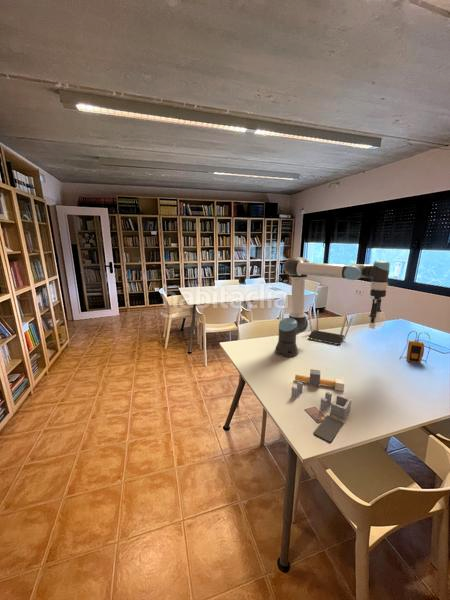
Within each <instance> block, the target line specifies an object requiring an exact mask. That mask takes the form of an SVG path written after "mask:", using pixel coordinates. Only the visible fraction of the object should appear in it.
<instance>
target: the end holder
mask: <svg viewBox="0 0 450 600" xmlns="http://www.w3.org/2000/svg"><path fill="white" fill-rule="evenodd" d="M351 404H352V399H351V398H349V397H345V396H343V395H340V394H337V395H336V401H335V403H334V402H331V404H330V413H329V414H330V415H332V416H335V417H337V418H339V419H341V420H345V419H346V417H347V416H348V414H349V412H350V410H351Z"/></svg>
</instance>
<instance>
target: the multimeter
mask: <svg viewBox="0 0 450 600" xmlns="http://www.w3.org/2000/svg"><path fill="white" fill-rule="evenodd" d="M413 332H414V333H416V337H415V340H409V338H407V340H406V341H407V342H406V344H407V345H406V346H405V347H404V349H403V351H402V354H401V356H400V357H399V359H401V357H403V355H404V353H405V350H407V351H406V356H404V357H405V360H406V361H407V362H413V363H418V364H421V363H422V361H424V362H426V361H427V360H428V356H429V353H430V349H431V347H428V348H429V349H428V353H427V356H426V359H425V360H424V359H423V356H424V353H425V352H424V351H425V343H424V342H422V341H419V339H420V338H419V336H420V335H421V334H422V332H421V333H419V334H418V332H417V331H415V330H413V331H410V332H409V333H408V335H407V337H409V335H410V334H411V333H413ZM417 335H418V336H417ZM425 335H428V338H429V339H431V338H430V334H428V332H425ZM406 348H407V349H406Z"/></svg>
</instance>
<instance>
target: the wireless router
mask: <svg viewBox="0 0 450 600" xmlns="http://www.w3.org/2000/svg"><path fill="white" fill-rule="evenodd" d="M319 311H320V310H319V309H317V312H316V329H312V328H313V327H312V322H311V314H310V311H309V310H307V313H308V314H307V315H308V323H309V329H310V334H309V335H308V338H309V339H310V338H312V339H316V340H315V341H317V340H320V341H319V342H322V341H325V342H324V343H327V342H330V343H329V344H332V343H334V344H333V345H337V344H338V345H340V344H341V343H342V342H343V340H346V337H347V335H348V332H349V329H350V327H351V324H352V321H353V319H354V317H351V318H350V319H349V322H348V324H347V328H346V331H345V334H344V328H345V325H346V321H347V317H348V313H346V314H345V317H344V320H343V323H342V326H341V331H340V333H339V334H338V333H333V332H328V331H322V330H319ZM343 334H344V335H343ZM312 339H311V340H312Z"/></svg>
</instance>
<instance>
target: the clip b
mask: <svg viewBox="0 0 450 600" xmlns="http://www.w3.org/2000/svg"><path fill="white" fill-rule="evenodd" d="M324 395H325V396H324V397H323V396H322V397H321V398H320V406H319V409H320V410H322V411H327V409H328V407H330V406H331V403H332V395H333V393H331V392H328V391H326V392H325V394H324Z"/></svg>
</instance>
